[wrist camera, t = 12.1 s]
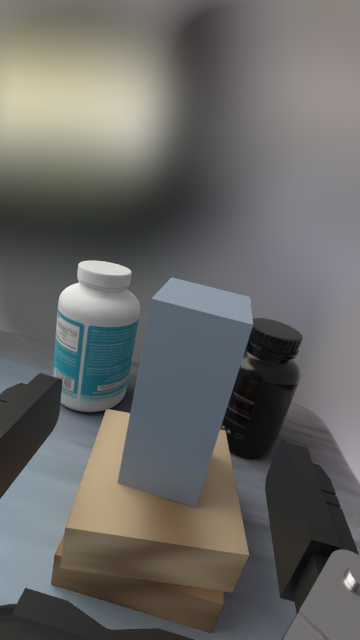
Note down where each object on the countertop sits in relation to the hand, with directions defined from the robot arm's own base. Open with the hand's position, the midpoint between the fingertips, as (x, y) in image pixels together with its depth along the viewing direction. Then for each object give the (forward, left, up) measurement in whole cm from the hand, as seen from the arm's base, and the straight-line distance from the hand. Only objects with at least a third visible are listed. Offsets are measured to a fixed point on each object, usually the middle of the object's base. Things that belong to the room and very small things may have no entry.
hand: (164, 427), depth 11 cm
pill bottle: (-9, +18, -13) cm, 24 cm away
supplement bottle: (+7, +18, -13) cm, 24 cm away
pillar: (0, +6, -8) cm, 10 cm away
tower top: (0, +6, -11) cm, 12 cm away
